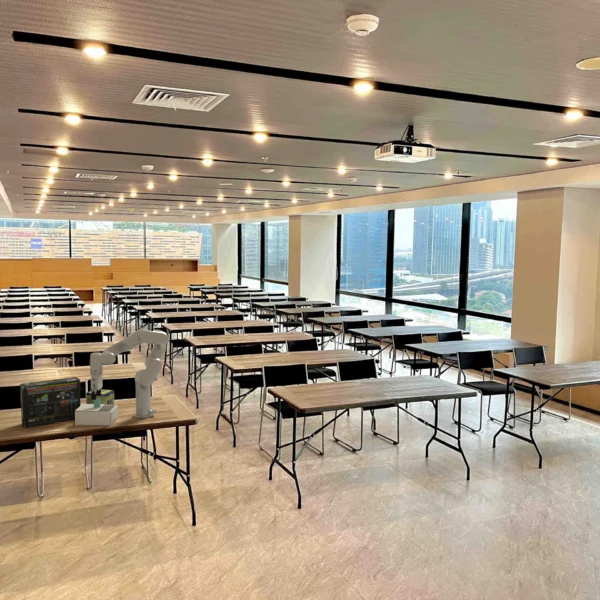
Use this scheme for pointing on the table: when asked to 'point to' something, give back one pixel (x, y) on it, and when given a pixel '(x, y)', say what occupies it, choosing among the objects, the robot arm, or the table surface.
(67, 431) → the table surface
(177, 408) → the table surface
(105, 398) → the protein box
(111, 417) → the white open box
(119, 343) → the robot arm
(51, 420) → the router box
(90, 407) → the flap
